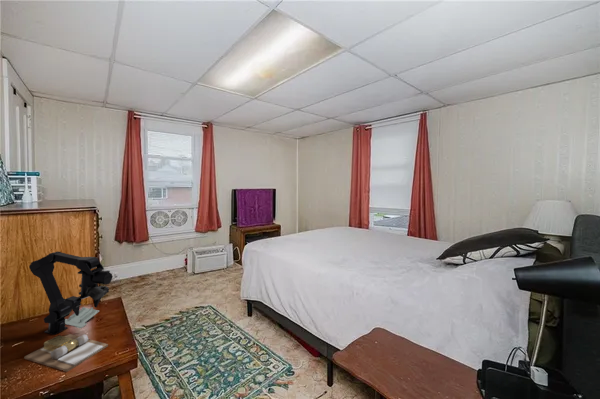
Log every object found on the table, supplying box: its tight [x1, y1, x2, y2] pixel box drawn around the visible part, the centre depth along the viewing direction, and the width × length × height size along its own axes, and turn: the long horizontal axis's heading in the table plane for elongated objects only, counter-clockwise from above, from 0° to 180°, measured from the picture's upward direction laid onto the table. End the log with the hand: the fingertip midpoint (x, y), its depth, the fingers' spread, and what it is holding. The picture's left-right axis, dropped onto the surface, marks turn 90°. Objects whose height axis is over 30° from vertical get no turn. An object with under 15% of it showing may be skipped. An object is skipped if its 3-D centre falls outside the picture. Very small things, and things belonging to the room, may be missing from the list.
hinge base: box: [23, 333, 109, 372], centre depth 116 cm, size 24×18×5 cm
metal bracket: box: [65, 306, 100, 329], centre depth 142 cm, size 14×6×15 cm
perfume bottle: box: [43, 334, 78, 352], centre depth 117 cm, size 13×6×4 cm, turn 78°
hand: (86, 311), depth 130 cm, fingers open, 9 cm apart
